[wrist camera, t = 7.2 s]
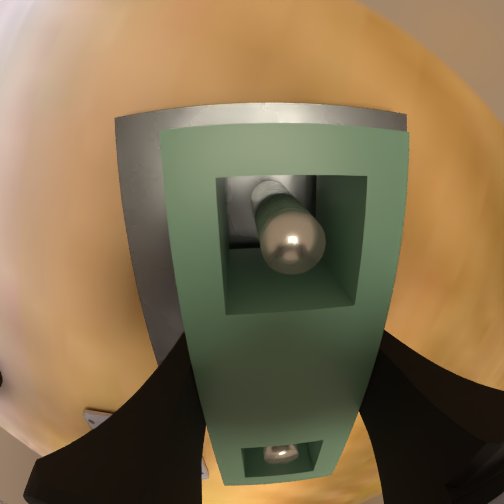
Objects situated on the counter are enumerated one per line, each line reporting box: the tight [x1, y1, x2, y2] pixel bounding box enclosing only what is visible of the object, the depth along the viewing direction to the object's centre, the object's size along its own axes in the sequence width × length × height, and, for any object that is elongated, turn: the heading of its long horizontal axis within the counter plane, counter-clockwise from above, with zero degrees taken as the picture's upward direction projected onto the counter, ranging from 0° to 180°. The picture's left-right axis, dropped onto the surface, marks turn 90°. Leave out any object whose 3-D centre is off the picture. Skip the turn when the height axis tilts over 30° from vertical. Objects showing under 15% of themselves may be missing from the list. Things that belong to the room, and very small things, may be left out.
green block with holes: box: [160, 123, 409, 485], centre depth 9 cm, size 14×5×4 cm, turn 2°
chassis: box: [115, 103, 407, 464], centre depth 10 cm, size 16×11×6 cm
